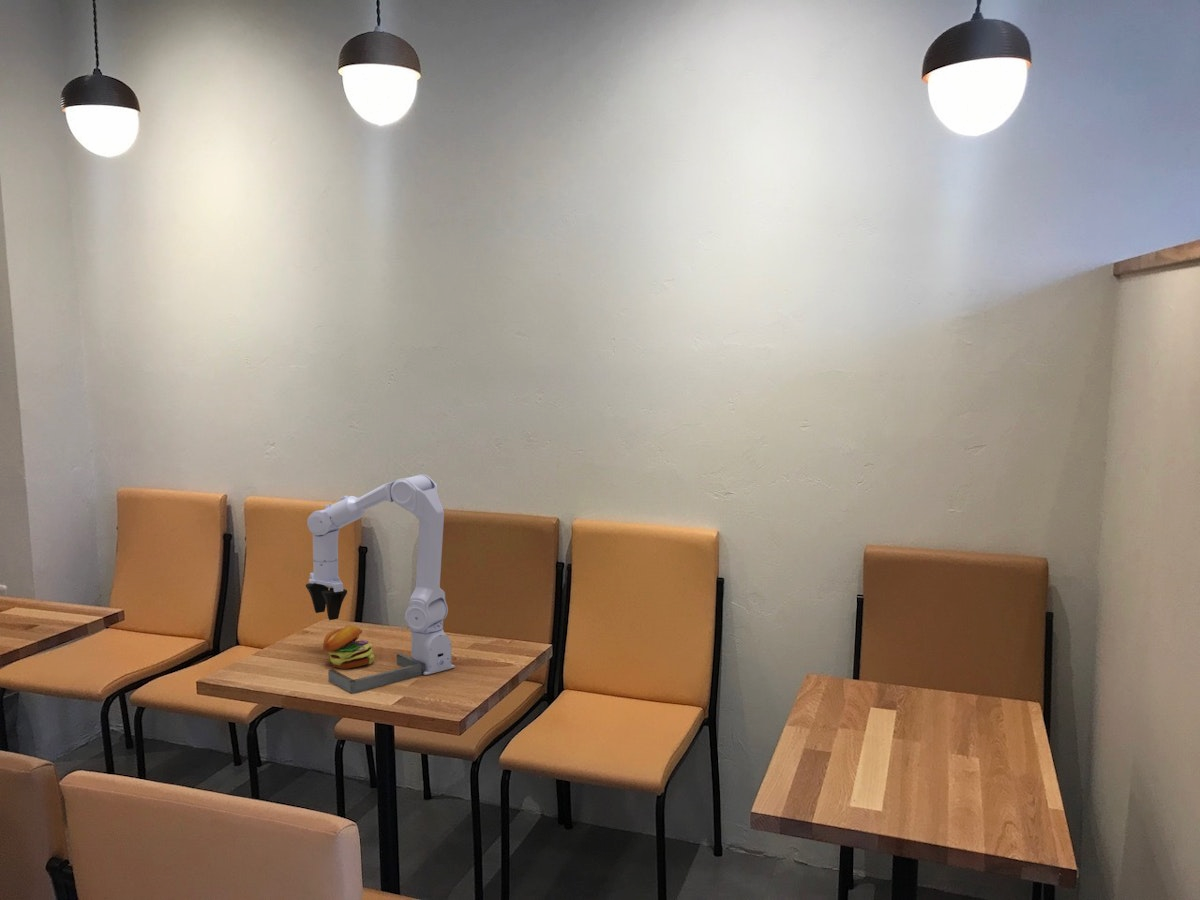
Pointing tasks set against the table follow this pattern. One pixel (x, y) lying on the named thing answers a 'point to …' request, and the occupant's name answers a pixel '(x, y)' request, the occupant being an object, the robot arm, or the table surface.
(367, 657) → the cheeseburger
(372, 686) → the grey low angled fixture
